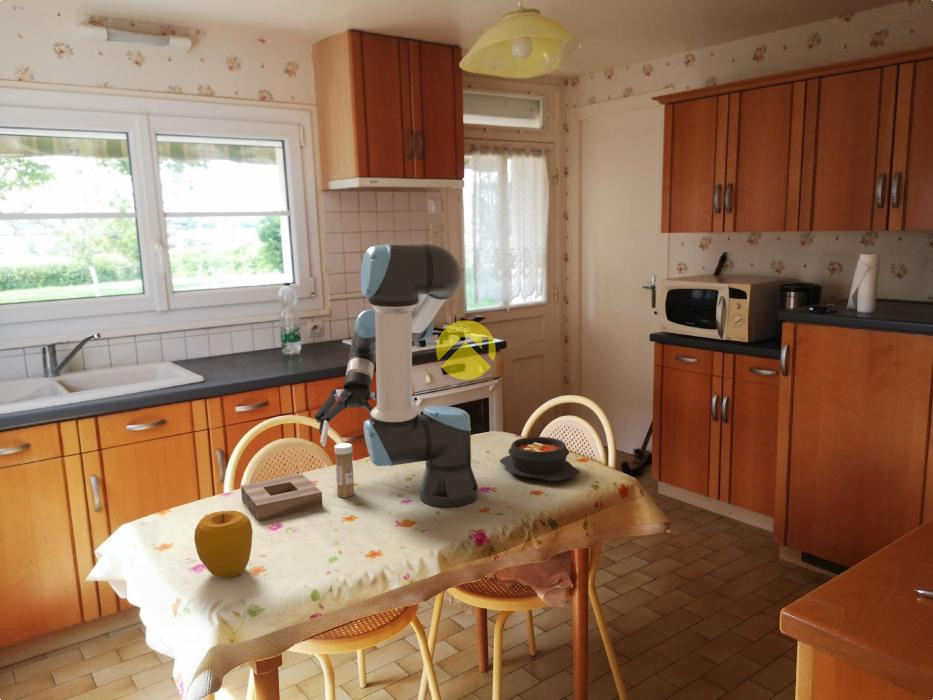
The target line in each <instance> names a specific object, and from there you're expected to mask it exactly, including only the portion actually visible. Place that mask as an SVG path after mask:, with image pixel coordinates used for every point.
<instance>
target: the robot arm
mask: <svg viewBox="0 0 933 700" xmlns="http://www.w3.org/2000/svg"><path fill="white" fill-rule="evenodd" d="M462 276H463V275H462V268H461V266H460V263H459V261H458V260H457V258H456V257H455V255H454V254H453V253H451V251H449V250H448V249H447V248H445V247H443V246H441V245H438V244H435V243H434V244H433V243H424V244H423V243H422V244H421V243H420V244H381V245H372V246H370V247H368V249H367V250H366V251H365V253H364V255H363V259H362V263H361V270H360V291H361V294H362V296H363V297H365V298H367V299H368V304H369V306H370V307H372V308H373V309H374V310H373V309H366V310H363V311H362V312H360V313H359V315H358V316H357V318H356V319H355V320H356V321H355V323H354V330H353V336H352V339H351V346H350V351H349V355H348V356H349V358H348V361H347V362H348V363H347V368H346V372H345V378H344V383H343V390H342V391H336V389H332V390H331V391H330V394H329V397H328V398H327V399H326V401H325V402H324V403H323V404H322V406H321V407H320V409H319V410H318V411H317V412H316V414H315V415H314V419H315V420H316V423H319V428H318V432H319V434H320V440H319V442H320V444H321V446H322V447H326V446H327V445H326V444H327V438H328V435H329V429H330V424H329V423H330V422H331V421H332V420H333V419H334V418H335V417H336V416H337V415H338V414H340V413H341V412H342V411H343V410H346V409H347V408H349V409H350V408H351V409H352V408H358V409H360V408H361V407H363V408H364V409H365V410H366V412H368V413H369V415H370V418H369V419H367V420H364V422H363V435H364V441H365V444H366V448H367V452H368V455H369V458H370V460H371V462H372V464H374V465H375V466H377V467H389V466H390V467H394V466H397V465H398V466H399V465H405V464H412V463H413V464H414V463H421V462H425V468H424V472H423V476H422V480H421V484H420V487H419V498H420V501H421V502H423V503H424V504H426V505H429V506H433V507H440V508H441V507H442V508H451V507H462V506H465V505H469V504H471V503H473V502H474V501H475V502H476V500H477V499H478V498H479V485H478V481H477V480H476V477H475V474H474V470H473V468H472V445H471V444H472V442H471V441H472V439H471V438H472V437H471V435H472V434H471V433H472V432H471V431H472V427H471V417H470V414H469V413H468V412H467V411H466V410H464V409H462V408H459V407H455V406H454V407H453V406H448V405H429V406H426V407H425V408H423V410H422V413H423V414H422V413H421V414H419V410H418V409H417V408H416V407H415V406H414V405H413V342H416V341H417V342H420V341H424V340H425V341H426V340H430V339H431V338H432V336H433V332H434V321H433V319H434V318H435V316H436V315H437V314H438V312H439V311H440V309H441V308H442V306H443V305H444V303H445V302H446V300H448V299H450V298H452V297H454V295H455V294H456V293H457V291H458V290H459V288H460V285H461V283H462ZM374 368H375V369H374ZM374 370H376V371H375V377H376V378H375V379H376V381H375V382H376V383H375V387H376V390H375V391H374V392H372V391H371V388H372V382H373V375H374ZM371 398H372V399H373V400H374V401H375V402H376V406H375V407H373V406H371V404H370V403H369V401H370V399H371ZM337 401H338V402H337ZM336 402H337V403H336ZM335 403H336V404H335Z"/></svg>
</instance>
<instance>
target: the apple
mask: <svg viewBox="0 0 933 700" xmlns="http://www.w3.org/2000/svg"><path fill="white" fill-rule="evenodd" d="M193 537H194V545H195V549H196V553H197V555H198V558H199V561H200V562H201V563H202V564H203V566H204V567H205V568H206V569H207V571H208V572H209V573H210V574H211V575H213V576H215V577H217V578H220V579H229V578H233V577H236V576H240V575H242V573H244V572H245V570H246V569H247V566H248V563H249V561H250V558H251V551H252V545H253V527H252V522H251V520H250V518H249V516H248V515H246V514H245V513H243V512H241V511H238V510H222V511H221V510H220V511H214V512H211V513H209V514H207V515H205V516H204V517H202V518H201V519H200V520H199V521H198V523H197V525H196V528H195V529H194V536H193Z"/></svg>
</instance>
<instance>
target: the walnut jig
mask: <svg viewBox="0 0 933 700" xmlns="http://www.w3.org/2000/svg"><path fill="white" fill-rule="evenodd" d="M240 494H241V501H242V502H243V504H244V505H245V507H246V508H247V509H248V510H249V512H250V513H251V514H252V516H253V517H254V518H255V520H256V521H257V522H261V521H263V522H264V521H266V520H270V519H275V518H280V516H281V517H285V516H289V514H290V515H293V513H294V514H297V512H299V513H303V512H307V510H308V511H312V510H316V509H315V508H317V509H320V508H319V507H322V508H323V506H324V505H323V493H322V491H321V490H320V489H319V488H318V487H317V486H316V485H315V484H313V483H312V481H310V480H309V479H308V477H306V476H305V475H304V474H303V473H300V474H299V473H298V474H293V475H288V476H283V477H278V478H273V479H268V480H263V481H256V482H252V483H248V484H241V485H240ZM311 509H312V510H311ZM302 511H303V512H302Z"/></svg>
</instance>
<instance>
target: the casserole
mask: <svg viewBox="0 0 933 700" xmlns="http://www.w3.org/2000/svg"><path fill="white" fill-rule="evenodd" d="M510 445H511V446H510V447H509V448H508V455H506V456H504V457H502V458H500V459H499V463H500V464H501V465H503V467H505V469H506V470H507V471H508V472H510V473H511V474H514V475H516V476H519V477H524V478H526V479H527V478H528V479H535V480H537V479H538V480H544V481H549V482H550V481H551V482H559V481H565V480H569V479H572V478H574V477H576V476H578V475H580V473H581V472H580V470H579V469H578V468H576V467H575V466H573V465H572V464H571V463H570V462H569V461H568V460H567V457H568V456H569V455H570V450H569V449H568V448H567V445H566V443H565V442H564V441H562V440H560V439H558V438H553V437H547V436H531V437H530V436H529V437H523V438H522V437H521V438H519V439H516V440H514V441H513V442H512V443H511V444H510Z"/></svg>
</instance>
